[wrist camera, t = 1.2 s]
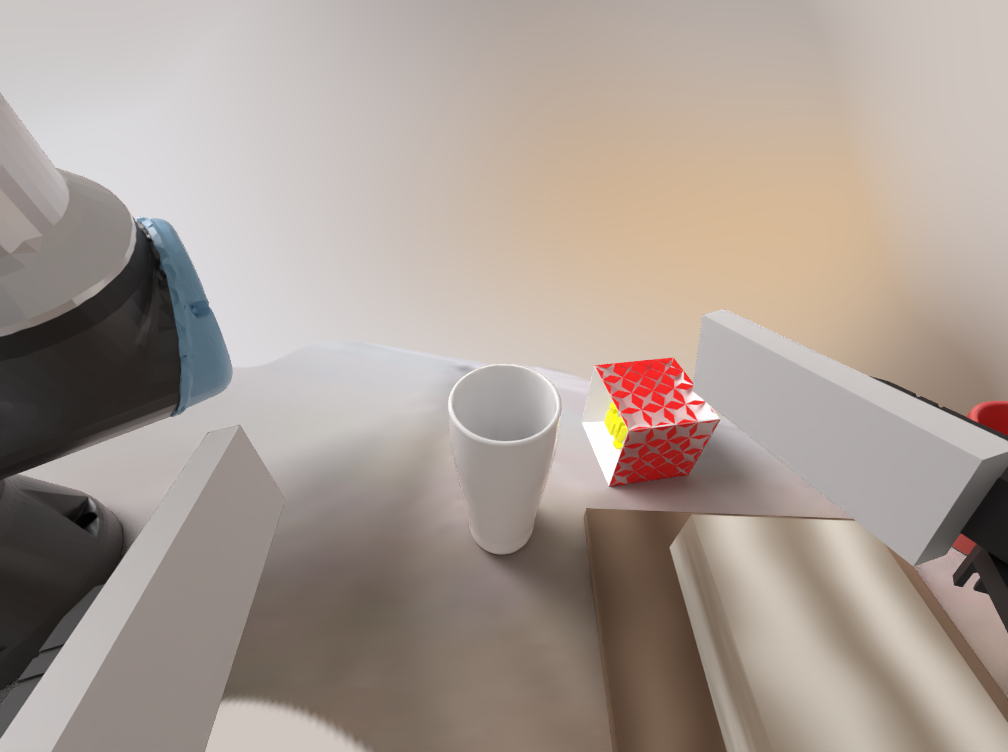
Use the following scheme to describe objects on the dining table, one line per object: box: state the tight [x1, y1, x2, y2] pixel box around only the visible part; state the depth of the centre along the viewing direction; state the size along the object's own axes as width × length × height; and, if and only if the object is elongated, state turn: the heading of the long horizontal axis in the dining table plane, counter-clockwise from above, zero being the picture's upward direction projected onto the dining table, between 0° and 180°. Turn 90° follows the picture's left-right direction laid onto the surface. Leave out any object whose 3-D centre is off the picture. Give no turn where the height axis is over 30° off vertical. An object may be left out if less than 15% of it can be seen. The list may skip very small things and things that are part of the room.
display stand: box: [584, 508, 1008, 752], centre depth 25 cm, size 24×18×6 cm
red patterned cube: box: [582, 358, 720, 486], centre depth 37 cm, size 8×8×8 cm
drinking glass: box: [448, 364, 562, 554], centre depth 28 cm, size 7×7×15 cm
